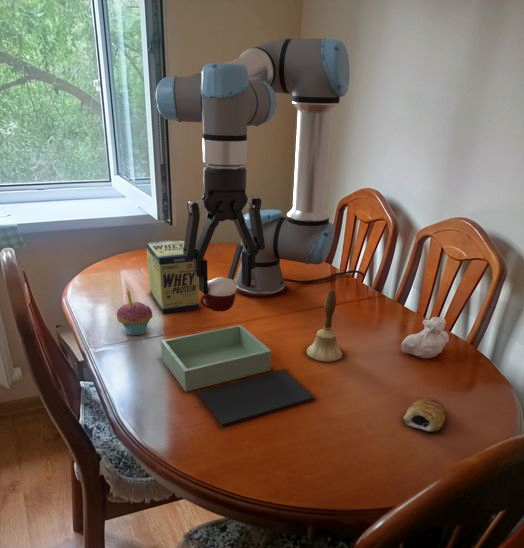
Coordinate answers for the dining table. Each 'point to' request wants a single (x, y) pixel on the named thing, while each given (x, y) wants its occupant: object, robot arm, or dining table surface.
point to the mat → (253, 397)
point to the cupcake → (134, 316)
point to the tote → (215, 357)
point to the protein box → (172, 276)
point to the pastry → (426, 415)
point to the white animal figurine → (427, 339)
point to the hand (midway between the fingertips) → (225, 288)
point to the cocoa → (223, 288)
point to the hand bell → (326, 335)
